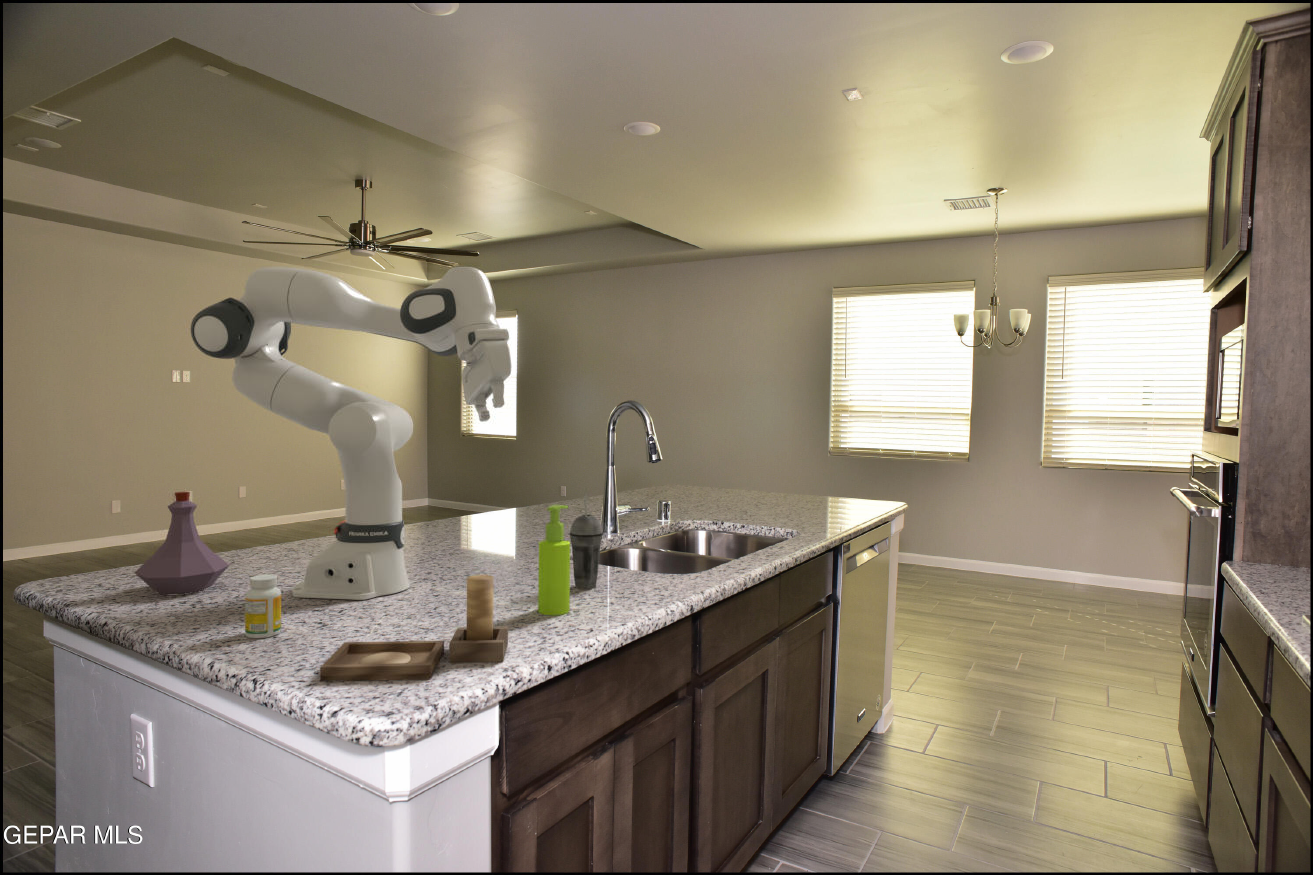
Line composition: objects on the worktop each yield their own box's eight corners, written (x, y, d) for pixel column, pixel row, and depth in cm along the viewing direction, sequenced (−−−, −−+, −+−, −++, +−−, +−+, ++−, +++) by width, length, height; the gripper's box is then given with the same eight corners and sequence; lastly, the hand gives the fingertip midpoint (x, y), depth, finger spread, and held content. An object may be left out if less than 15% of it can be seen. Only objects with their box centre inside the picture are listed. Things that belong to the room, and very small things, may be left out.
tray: (320, 681, 104) (320, 667, 103) (344, 654, 114) (344, 642, 114) (430, 678, 105) (430, 665, 105) (444, 653, 116) (444, 640, 116)
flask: (186, 577, 162) (185, 486, 161) (248, 583, 158) (247, 489, 157) (113, 595, 146) (111, 494, 145) (179, 603, 142) (178, 499, 141)
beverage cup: (605, 583, 163) (606, 492, 162) (599, 591, 156) (600, 496, 155) (572, 582, 164) (573, 491, 163) (565, 590, 156) (566, 495, 156)
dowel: (464, 658, 114) (465, 580, 113) (468, 649, 118) (468, 574, 117) (491, 657, 114) (491, 580, 114) (494, 649, 118) (494, 574, 118)
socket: (449, 662, 112) (449, 643, 112) (457, 645, 120) (457, 627, 120) (503, 661, 113) (503, 642, 113) (508, 644, 121) (508, 626, 120)
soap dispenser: (576, 607, 144) (578, 504, 143) (560, 616, 137) (562, 508, 136) (549, 604, 145) (550, 502, 145) (532, 613, 139) (533, 507, 138)
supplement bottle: (253, 641, 120) (252, 582, 120) (239, 634, 124) (239, 577, 123) (287, 633, 125) (286, 577, 124) (273, 627, 128) (272, 571, 128)
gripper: (451, 364, 152) (462, 429, 150) (478, 327, 135) (491, 399, 133) (481, 363, 156) (492, 426, 153) (511, 326, 138) (524, 397, 136)
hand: (492, 413), depth 143 cm, fingers open, 8 cm apart
